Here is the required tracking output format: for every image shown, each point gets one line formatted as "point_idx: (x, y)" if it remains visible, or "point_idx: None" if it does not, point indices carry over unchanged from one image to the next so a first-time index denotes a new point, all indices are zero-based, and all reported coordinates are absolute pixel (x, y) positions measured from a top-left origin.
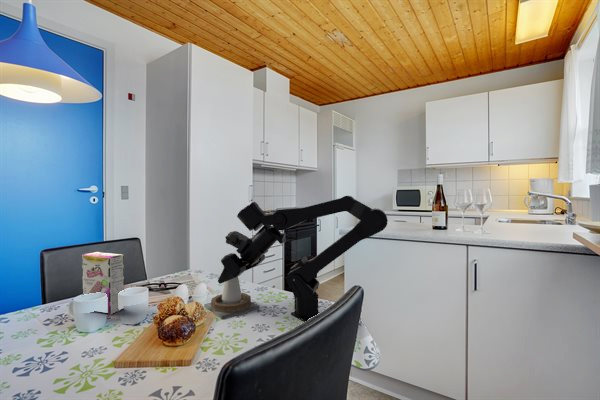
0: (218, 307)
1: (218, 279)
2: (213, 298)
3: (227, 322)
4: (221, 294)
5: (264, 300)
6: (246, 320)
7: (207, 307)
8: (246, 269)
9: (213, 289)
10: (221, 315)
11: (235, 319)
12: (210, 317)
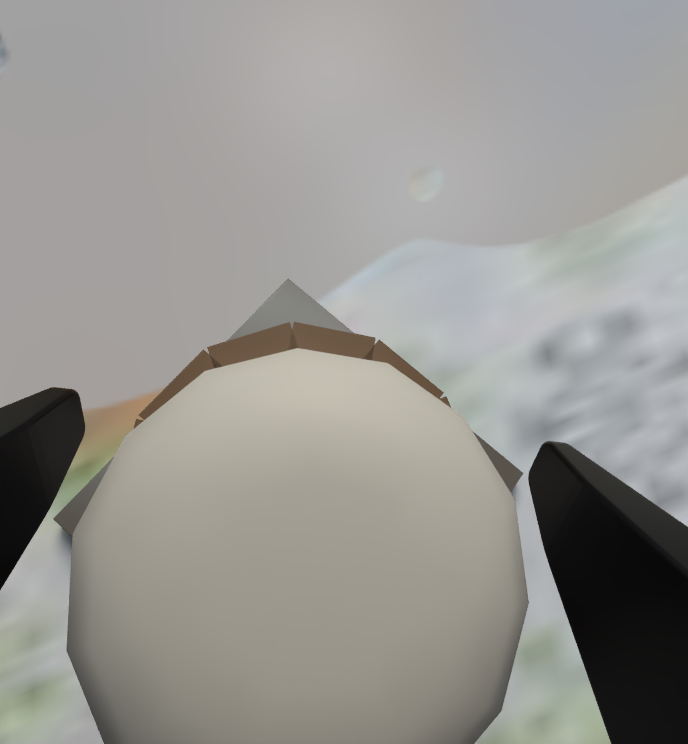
0: None
1: (21, 401)
2: (293, 334)
3: (6, 586)
4: (401, 360)
5: (512, 731)
6: (48, 738)
7: (244, 325)
8: (620, 740)
9: (632, 211)
10: (71, 506)
11: (67, 629)
12: (99, 413)
